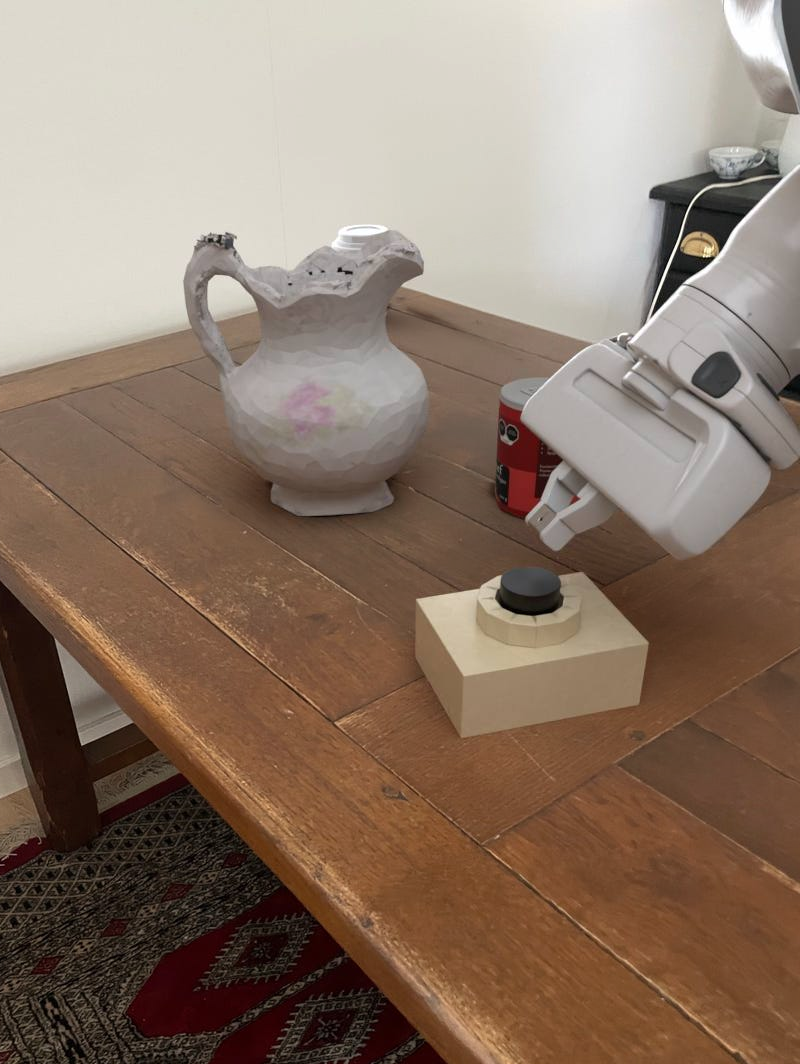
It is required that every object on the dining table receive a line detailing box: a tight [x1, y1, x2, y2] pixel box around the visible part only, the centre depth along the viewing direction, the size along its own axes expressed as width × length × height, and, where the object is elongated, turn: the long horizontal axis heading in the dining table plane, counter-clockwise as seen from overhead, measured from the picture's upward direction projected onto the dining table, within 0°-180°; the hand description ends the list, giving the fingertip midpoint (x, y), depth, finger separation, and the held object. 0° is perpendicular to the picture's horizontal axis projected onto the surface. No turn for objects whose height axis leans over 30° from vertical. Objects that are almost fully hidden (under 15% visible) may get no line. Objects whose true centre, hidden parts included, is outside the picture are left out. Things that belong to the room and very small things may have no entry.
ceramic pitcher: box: [182, 229, 430, 517], centre depth 95 cm, size 22×20×25 cm
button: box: [499, 565, 561, 616], centre depth 69 cm, size 4×4×2 cm
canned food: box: [494, 376, 580, 519], centre depth 94 cm, size 8×8×11 cm
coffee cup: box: [331, 224, 389, 318], centre depth 148 cm, size 9×9×12 cm
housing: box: [414, 571, 650, 739], centre depth 72 cm, size 13×10×7 cm
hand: (539, 536), depth 67 cm, fingers closed
